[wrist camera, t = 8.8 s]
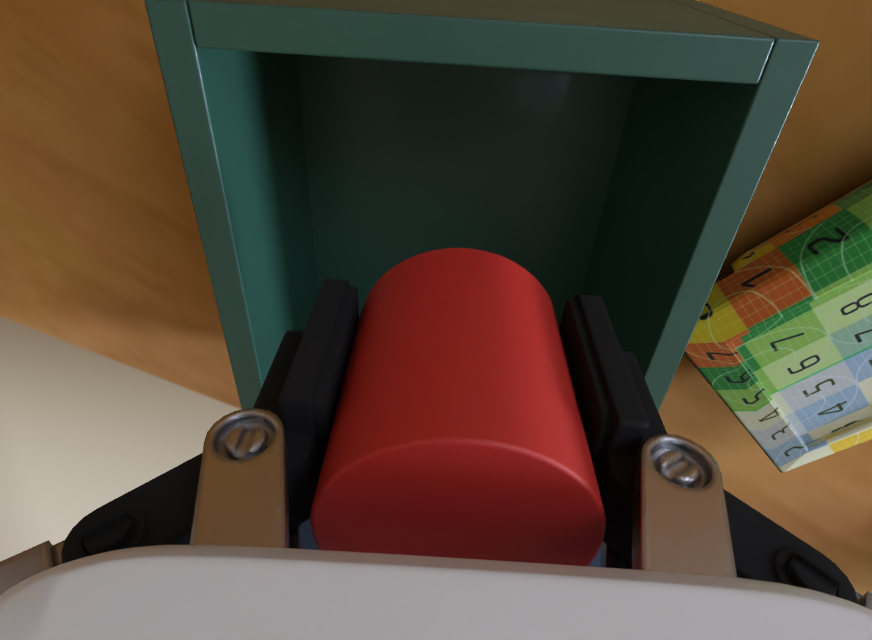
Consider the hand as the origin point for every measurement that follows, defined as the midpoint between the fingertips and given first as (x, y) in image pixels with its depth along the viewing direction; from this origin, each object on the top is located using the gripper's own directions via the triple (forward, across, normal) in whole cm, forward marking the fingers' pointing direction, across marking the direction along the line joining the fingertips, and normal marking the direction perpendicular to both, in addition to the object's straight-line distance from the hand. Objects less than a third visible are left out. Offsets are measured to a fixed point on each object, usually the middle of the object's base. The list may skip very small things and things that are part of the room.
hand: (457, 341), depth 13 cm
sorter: (+11, 0, +2) cm, 11 cm away
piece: (0, 0, 0) cm, 0 cm away
